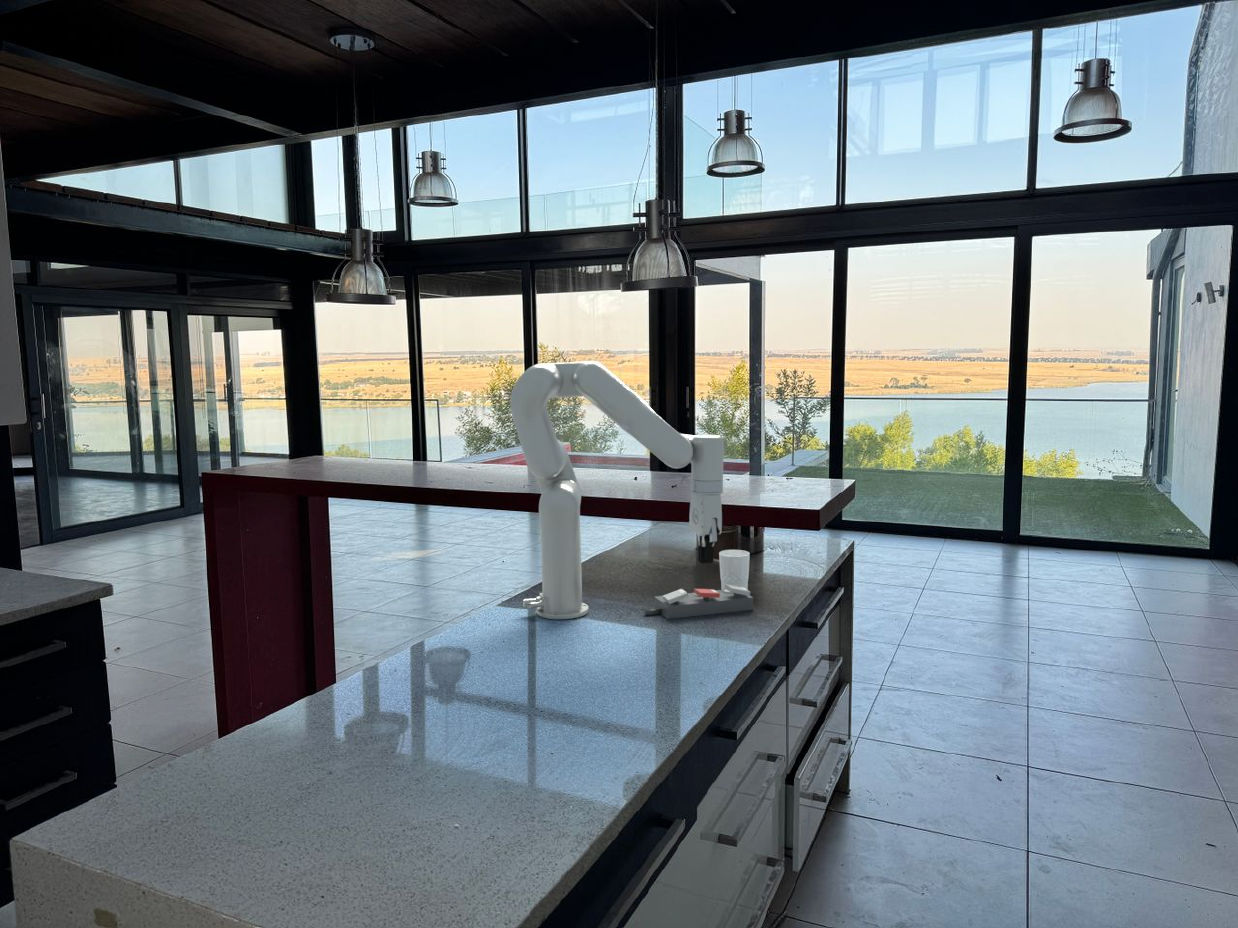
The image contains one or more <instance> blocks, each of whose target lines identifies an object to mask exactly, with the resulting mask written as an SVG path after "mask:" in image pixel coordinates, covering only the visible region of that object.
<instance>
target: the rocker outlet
mask: <svg viewBox="0 0 1238 928" xmlns="http://www.w3.org/2000/svg"><path fill="white" fill-rule="evenodd" d="M725 589H726V590H728V591H730V592H732V593H737V594H743V595H748V596H751V591H750V590H747V589H745V588H743V587H737V586H732V585H726V584H725Z"/></svg>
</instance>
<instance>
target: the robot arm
mask: <svg viewBox="0 0 1238 928" xmlns="http://www.w3.org/2000/svg"><path fill="white" fill-rule="evenodd" d="M571 397H572V398H575V397H577V398H578V397H584V398H585V399H586V400H588V401H589V402H590V403H591V404H592V405H593V406H595V407H596V408H597V409H598V410H599V411H600V412H602V413H603V414H604V415H605V416H606V417H608V418H609V419H610V420H611V421H612V422H614V423H615V424H616V425H617V426H618V427H620V428H621V429H622V430H623V431H624V432H626V433H627V434H628V435H630V436H631V437H632V438H634V439H635V440H636V441H638V443H640V444H641V445H642V446H644V447H645V449H646V450H648V451H649V452H650V453H652V455H654V456H656V458H658V460H660V461H661V462H663V463H664V464H665V465H666V466H668V467H670V468H672V469H682V468H685V467H686V466H688V465H689V464H691V472H690V474H691V476H690V477H691V478H690V479H691V480H690V482H691V483H690V493H691V495H690V503H689V514H688V515H689V517H688V518H689V520H688V528H689V530H690V531H692V532H693V533H694V534H696V536H697V544H698V551H697V553H698V557H697V561H698V562H699V563H700V564H712V563H714V547H715V543H716V542H717V541H718V536H720V535H721V534H722V527H723V512H722V511H723V510H722V509H723V507H722V497H721V496H722V494H723V492H724V491H723V490H724V451H725V450H724V447H725V445H724V438H723V437H722V436H721V435H719V434H706V433H705V434H698V435H693V434H685V433H681V432H679V431H677V430H676V429H675V428H673V427H672V425H670V424H669V423H668V422H666V421H665V420H664V419H663V418H662V417H661V416H660V415H658V414H657V413H656V412H655V410H654V409H653V408H652V407H651V406H650V405H649V404H648V402H646V400H645V399H644V398H642V397H641V396H640V395H639V394H638V393H637V392H636V391H634V390H633V389H632V388H631V387H629V386H628V385H627V384H626V383H625V382H623V380H621V379H620V378H619V377H617V376H616V375H615V374H614V373H613V372H611V370H610V369H608V368H607V367H606V366H605V365H604V364H602V363H600V362H599V361H597V360H587V361H574V362H573V361H572V362H553V363H548V362H547V363H536V364H533V365H531V366H530V367H528V368H527V369H526V370H524V372H523V373H522V374H521V375H520V376H519V378H518V379H517V380H516V381H515V384H514V385H513V388H512V390H511V394H510V400H509V401H510V404H509V405H510V412H511V417H512V420H513V424H514V427H515V429H516V434H517V436H518V440H519V443H520V446H521V449H522V452H523V455H524V458H525V463H526V467H527V469H528V470H529V473H531V474H532V475H533V476H534V477H535V479H536V481H537V485H538V488H539V490H540V494H541V495H540V496H539V497H540V498H539V502H538V517H539V518H538V519H539V528H540V530H539V531H540V552H541V558H540V559H541V582H542V583H541V585H542V586H541V587H542V592H539V596H535V598H523V600H522V606H523V608H530V609H536V615H537V616H539V617H541V618H543V619H548V620H570V619H571V620H572V619H577V618H580V617H583V616H586V615H587V614H589V610H590V609H589V607H590V606H589V605H588V604H586V602H585V603H584V602H583V586H582V585H583V582H582V579H583V578H582V545H581V541H582V540H581V502H582V494H581V493H582V492H581V489H580V486H579V485H580V484H579V482H578V479H577V476H576V473H575V470H574V467H573V464H572V462H571V459H570V456H569V452H568V450H567V448H566V446H565V444H564V443H563V442H561V440H559V439H558V437H557V434H556V432H555V429H554V426H553V423H552V420H551V417H550V414H549V411H548V401H549V400H550V399H553V398H556V399H557V398H571Z"/></svg>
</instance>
